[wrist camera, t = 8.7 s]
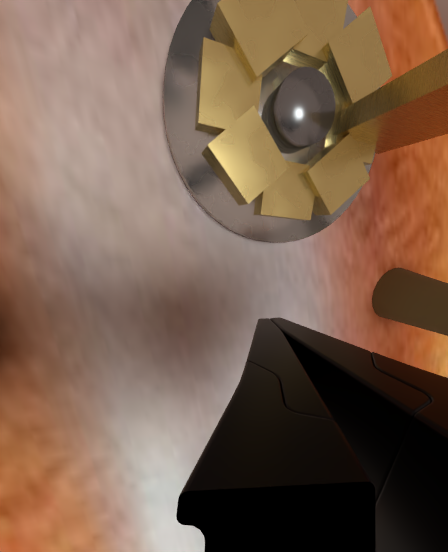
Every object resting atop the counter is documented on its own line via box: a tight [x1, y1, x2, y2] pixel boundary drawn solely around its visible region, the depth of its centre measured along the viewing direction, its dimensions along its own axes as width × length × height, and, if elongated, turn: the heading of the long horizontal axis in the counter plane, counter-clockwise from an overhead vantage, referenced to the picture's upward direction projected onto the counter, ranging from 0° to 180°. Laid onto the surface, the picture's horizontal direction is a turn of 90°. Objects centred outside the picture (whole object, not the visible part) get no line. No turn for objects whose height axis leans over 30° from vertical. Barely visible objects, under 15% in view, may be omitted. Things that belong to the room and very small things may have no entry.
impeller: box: [163, 0, 380, 242], centre depth 16 cm, size 18×18×3 cm
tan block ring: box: [195, 0, 448, 220], centre depth 12 cm, size 16×14×10 cm
